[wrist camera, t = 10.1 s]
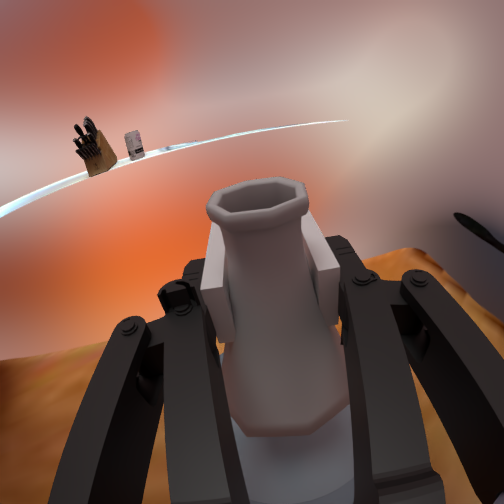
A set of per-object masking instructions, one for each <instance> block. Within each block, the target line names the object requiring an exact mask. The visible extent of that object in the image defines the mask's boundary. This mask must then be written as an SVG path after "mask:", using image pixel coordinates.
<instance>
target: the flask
mask: <svg viewBox="0 0 504 504" xmlns="http://www.w3.org/2000/svg"><path fill="white" fill-rule="evenodd" d="M308 208H309V200H308V195H307V191H306V188H305V184H304V183H302V182H299V181H295V180H291V179H287V178H284V177H272V178H264V179H256V180H248V181H244V182H241V183H238V184H235V185H232V186H229V187H226V188H223V189H221V190H218V191H215V192H214V193H213V194H212V196H211V198H210V199H209V201H208V203H207V205H206V211H207V214H208V216H209V218H210V220H211V221H213V222H214V223H215V224H217V225H218V226H219V227H220V230H221V232H222V237H223V241H224V246H225V250H226V254H227V259H228V275H229V295H230V303H231V308H232V314H233V319H234V325H235V330H236V335H235V340H234V342H227V343H225V348H224V356H223V362H222V373H223V379H224V385H225V390H226V395H227V401H228V406H229V411H230V415H231V417H232V418H233V419H234V421H235V422H236V424H237V425H238V426H239V428H240V429H241V430H242V432H243V433H244V434H245V436H246V437H286V436H304V435H311V434H312V433H314V432H315V431H316V430H318V429H319V428H320V427H322V426H323V425H324V424H326V423H327V422H328V421H329V420H331V419H332V418H333V417H334V416H336V415H337V414H338V413H339V412H341V411H342V410H343V409H344V408H345V407H347V406H348V405H349V404H350V400H349V390H348V380H347V372H346V363H345V355H344V347H343V345H340V344H341V337H340V335H339V333H338V331H337V329H336V327H335V325H332V326H327V324H326V322H325V320H324V318H323V315H322V313H321V311H320V309H319V305H318V301H317V297H316V293H315V289H314V285H313V280H312V275H311V271H310V268H309V264H308V260H307V257H306V253H305V249H304V246H303V239H302V230H301V218H302V216H304V215H306V214H307V212H308Z"/></svg>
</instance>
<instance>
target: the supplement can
mask: <svg viewBox="0 0 504 504" xmlns="http://www.w3.org/2000/svg"><path fill="white" fill-rule="evenodd" d="M125 141H126V146H127V149H128V153H129V157H130V160H132V161H133V160H137V159H140V158H142V157H144V155H145V154H144V150H143V146H142V142H141V138H140V134H139V132H138V130H136V131H132V132H129V133H127V134H125Z"/></svg>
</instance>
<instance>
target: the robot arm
mask: <svg viewBox="0 0 504 504" xmlns="http://www.w3.org/2000/svg"><path fill="white" fill-rule="evenodd" d="M301 230H302V239H303V246H304V249H305V253H306V257H307V260H308V264H309V268H310V271H311V275H312V280H313V285H314V289H315V293H316V297H317V301H318V305H319V309H320V311H321V313H322V315H323V318H324V320H325V322H326V324H327V326H332V325H336V324H338V320H339V316H340V319H341V321H342V331H341V344H340V345H343V347H344V355H345V363H346V372H347V380H348V390H349V400H350V412H351V425H352V440H353V460H354V502H353V504H446V502H445V492H444V486H443V481H442V479H441V477H440V475H439V474H438V473H437V472H435V471H434V470H433V469H432V467H431V463H430V458H429V451H428V445H427V440H426V434H425V429H424V424H423V419H422V414H421V410H420V405H419V401H418V397H417V393H416V388H415V385H414V381H413V377H412V373H411V369H410V366H411V368H412V369H413V371H414V373H415V374H416V376H417V378H418V380H419V381H420V383H421V385H422V387H423V388H424V390H425V392H426V394H427V396H428V397H429V399H430V401H431V403H432V405H433V407H434V408H435V410H436V412H437V414H438V416H439V418H440V420H441V422H442V424H443V426H444V428H445V430H446V432H447V434H448V436H449V438H450V440H451V442H452V444H453V446H454V448H455V450H456V452H457V454H458V456H459V459H460V461H461V463H462V465H463V467H464V470H465V472H466V474H467V476H468V479H469V481H470V483H471V485H472V487H473V489H474V491H475V493H476V495H477V497H478V498H479V500H480V501H481V502H482V504H504V359H503V358H502V357H501V355H500V354H499V353H498V351H497V350H496V349H495V347H494V346H493V345H492V344H491V342H490V341H489V340H488V338H487V337H486V336H485V335H484V333H483V332H482V331H481V330H480V328H479V327H478V326H477V325H476V324H475V322H474V321H473V320H472V319H471V318H470V317H469V315H468V314H467V313H466V312H465V311H464V310H463V308H462V307H461V306H460V305H459V304H458V303H457V302H456V300H455V299H454V298H453V297H452V296H451V295H450V294H449V293H448V292H447V291H446V290H445V288H444V287H443V286H442V285H441V284H440V283H439V282H438V281H437V280H436V279H435V278H434V277H433V276H432V275H431V274H429V273H428V272H426V271H423V270H417V269H414V270H409V271H407V272H405V273H404V274H403V276H402V280H401V281H387V280H381V279H380V277H379V276H378V274H377V273H375V272H374V271H372V270H368V269H366V268H365V266H364V264H363V263H362V261H361V260H360V258H359V257H358V255H357V254H356V253H355V251H354V249H353V248H352V246H351V244H350V243H349V242H348V240H347V239H345V238H343V237H342V236H340V235H338V236H331V237H325V238H324V236H323V234H322V232H321V231H320V229H319V227H318V225H317V223H316V222H315V220H314V218H313V216H312V214H311V213H310V211H309V209H308V212H307V214H306V215H304V216H302V218H301ZM157 295H158V298H159V300H160V302H161V305H162V307H163V309H164V311H165V316H164V317H162V318H160V319H157V320H154V321H152V322H149V323H146V322H145V320H144V319H143V318H142V317H140V316H131V317H128V318H126V319H124V320H122V321H121V322H120V323H119V324H117V326H116V327H115V329H114V331H113V333H112V335H111V337H110V339H109V341H108V343H107V345H106V347H105V350H104V352H103V354H102V356H101V358H100V360H99V363H98V365H97V367H96V369H95V371H94V374H93V376H92V378H91V381H90V383H89V385H88V388H87V390H86V392H85V395H84V397H83V400H82V402H81V405H80V407H79V410H78V412H77V415H76V417H75V420H74V423H73V425H72V428H71V431H70V433H69V436H68V439H67V442H66V445H65V448H64V450H63V453H62V456H61V460H60V463H59V466H58V469H57V472H56V476H55V479H54V482H53V486H52V489H51V493H50V497H49V501H48V504H142V499H143V494H144V489H145V483H146V478H147V474H148V469H149V464H150V459H151V455H152V450H153V446H154V441H155V437H156V432H157V428H158V424H159V420H160V415H161V411H162V407H163V403H164V422H165V443H166V458H167V471H168V482H169V491H170V500H171V504H250V500H249V496H248V492H247V488H246V484H245V480H244V476H243V472H242V467H241V463H240V458H239V454H238V449H237V445H236V440H235V435H234V431H233V426H232V421H231V416H230V411H229V406H228V401H227V395H226V390H225V385H224V379H223V373H222V368H221V362H220V356H219V351H218V349H217V346H216V336H217V338H218V341H219V343H227V342H234V340H235V335H236V330H235V325H234V319H233V314H232V308H231V303H230V295H229V275H228V259H227V254H226V250H225V246H224V241H223V237H222V232H221V230H220V227H219V226H218V225H217V224H215V223H214V222H213V221H212V225H211V231H210V236H209V242H208V247H207V253H206V258H203V259H197V260H191V261H190V262H189V263H188V264H187V265H186V266H185V268H184V272H183V276H182V279H178V280H174V281H171V282H169V283H167V284H165V285H164V286H163V287H162V288H161V289H160V290H159V292H158V294H157ZM409 364H410V366H409Z"/></svg>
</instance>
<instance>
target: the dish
mask: <svg viewBox="0 0 504 504" xmlns="http://www.w3.org/2000/svg"><path fill="white" fill-rule="evenodd" d="M219 356H220V362H221V368H222V362H223V356H224V353H222V354H221V355H219ZM230 416H231V415H230ZM231 421H232V426H233V431H234V435H235V440H236V445H237V449H238V454H239V458H240V463H241V467H242V472H243V476H244V480H245V484H246V488H247V492H248V496H249V500H250V504H353V502H354V460H353V440H352V425H351V412H350V404H349V405H348V406H347V407H345V408H344V409H343V410H342V411H341V412H339V413H338V414H337V415H336V416H334V417H333V418H332V419H331V420H329V421H328V422H327V423H326V424H324V425H323V426H322V427H320V428H319V429H318V430H316V431H315V432H314V433H312V434H311V435H304V436H286V437H246V436H245V434H244V433H243V432H242V430H241V429H240V428H239V426H238V425H237V424H236V422H235V421H234V419H233V418H232V417H231Z"/></svg>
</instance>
